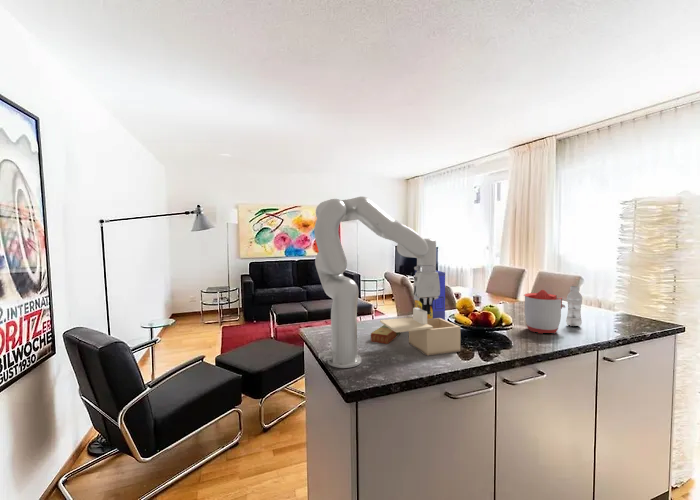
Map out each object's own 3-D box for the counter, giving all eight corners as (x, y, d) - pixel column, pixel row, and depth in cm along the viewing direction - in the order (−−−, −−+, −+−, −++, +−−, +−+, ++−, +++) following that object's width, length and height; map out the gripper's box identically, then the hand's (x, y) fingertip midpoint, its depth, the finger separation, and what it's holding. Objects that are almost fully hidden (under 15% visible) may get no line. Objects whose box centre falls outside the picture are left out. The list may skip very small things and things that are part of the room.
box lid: (396, 332, 127) (396, 317, 126) (380, 322, 141) (380, 308, 141) (433, 328, 131) (433, 313, 131) (413, 318, 146) (413, 305, 146)
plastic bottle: (562, 325, 171) (563, 286, 170) (572, 324, 173) (573, 285, 172) (574, 329, 165) (575, 288, 164) (585, 327, 167) (586, 287, 166)
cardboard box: (427, 355, 131) (427, 330, 131) (409, 343, 146) (409, 320, 145) (460, 351, 136) (460, 326, 135) (439, 340, 150) (439, 317, 150)
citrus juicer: (571, 336, 153) (572, 292, 152) (530, 335, 156) (531, 292, 155) (556, 327, 168) (557, 287, 167) (519, 326, 171) (519, 286, 170)
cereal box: (414, 326, 173) (414, 267, 171) (426, 325, 174) (426, 267, 172) (432, 339, 151) (432, 272, 150) (444, 338, 152) (445, 272, 151)
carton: (370, 342, 150) (370, 332, 149) (384, 332, 164) (383, 323, 164) (388, 344, 146) (387, 334, 145) (400, 334, 160) (400, 325, 160)
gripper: (414, 270, 132) (414, 317, 133) (447, 269, 137) (447, 314, 138) (405, 268, 139) (405, 313, 140) (437, 267, 144) (437, 310, 145)
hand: (426, 313), depth 139 cm, fingers closed
